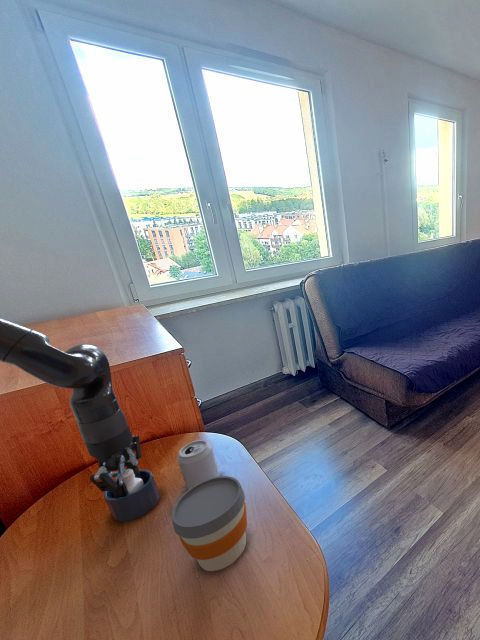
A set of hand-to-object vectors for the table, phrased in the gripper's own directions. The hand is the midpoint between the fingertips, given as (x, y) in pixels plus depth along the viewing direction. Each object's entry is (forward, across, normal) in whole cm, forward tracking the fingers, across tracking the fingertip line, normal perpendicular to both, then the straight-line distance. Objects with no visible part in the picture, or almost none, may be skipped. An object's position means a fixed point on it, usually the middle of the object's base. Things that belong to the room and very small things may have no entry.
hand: (129, 486), depth 81 cm
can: (+6, -4, +14) cm, 16 cm away
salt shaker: (+6, 0, 0) cm, 6 cm away
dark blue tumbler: (+6, 0, 0) cm, 6 cm away
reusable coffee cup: (+6, +17, +25) cm, 31 cm away
